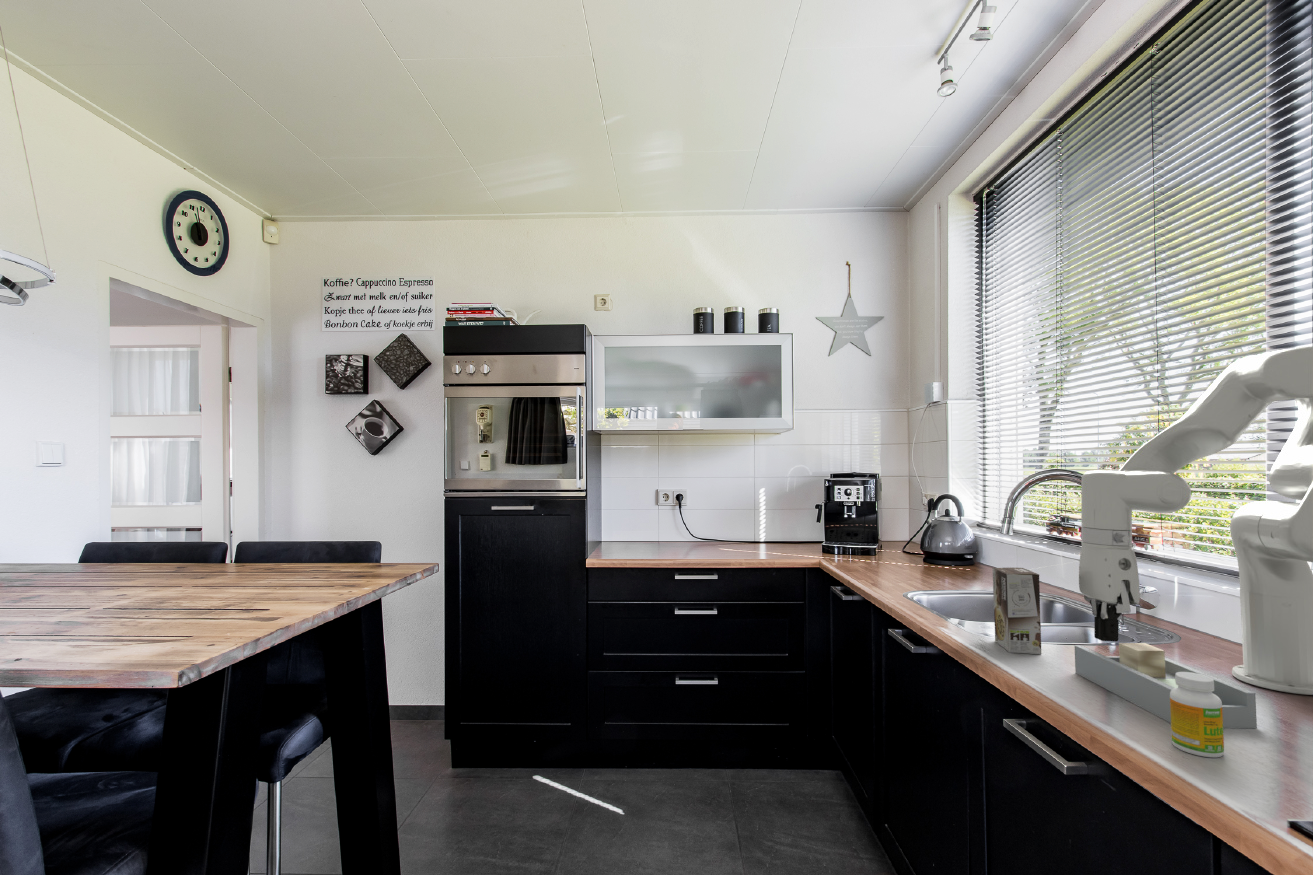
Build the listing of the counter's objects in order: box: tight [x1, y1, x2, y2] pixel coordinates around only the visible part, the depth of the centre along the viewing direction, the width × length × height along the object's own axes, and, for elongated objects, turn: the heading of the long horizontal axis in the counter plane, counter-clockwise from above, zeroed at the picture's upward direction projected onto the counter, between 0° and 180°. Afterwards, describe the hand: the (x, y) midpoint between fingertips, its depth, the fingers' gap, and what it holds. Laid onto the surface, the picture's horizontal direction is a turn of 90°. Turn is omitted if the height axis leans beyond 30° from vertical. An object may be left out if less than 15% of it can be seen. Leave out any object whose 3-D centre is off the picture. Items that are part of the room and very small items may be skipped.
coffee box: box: [992, 567, 1042, 655], centre depth 132 cm, size 9×6×16 cm
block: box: [1118, 642, 1166, 678], centre depth 106 cm, size 4×4×4 cm
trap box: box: [1074, 644, 1258, 729], centre depth 103 cm, size 11×24×5 cm, turn 178°
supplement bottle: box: [1170, 672, 1225, 759], centre depth 85 cm, size 5×5×10 cm
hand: (1106, 639), depth 114 cm, fingers closed
